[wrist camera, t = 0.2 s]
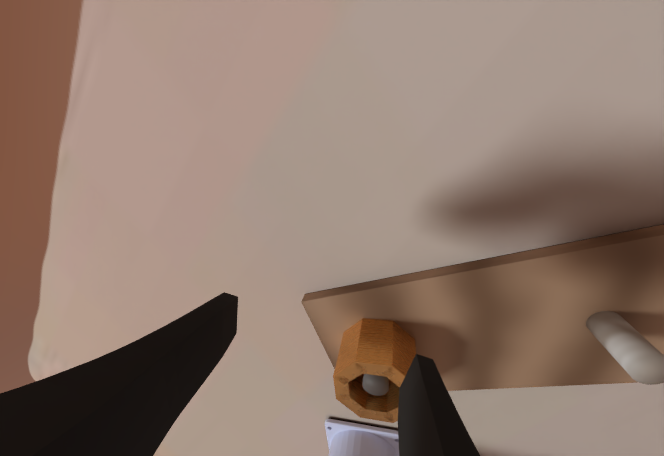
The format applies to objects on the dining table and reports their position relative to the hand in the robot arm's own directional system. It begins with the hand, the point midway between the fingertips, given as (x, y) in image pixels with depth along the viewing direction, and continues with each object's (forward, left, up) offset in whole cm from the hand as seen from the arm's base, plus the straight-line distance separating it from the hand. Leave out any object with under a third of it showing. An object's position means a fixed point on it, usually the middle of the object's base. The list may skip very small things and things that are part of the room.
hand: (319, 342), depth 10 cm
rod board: (-7, -9, -10) cm, 15 cm away
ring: (-9, -2, -9) cm, 13 cm away
